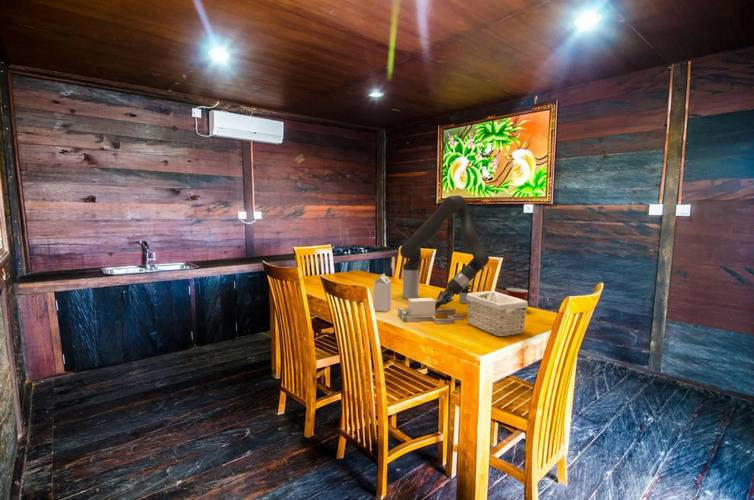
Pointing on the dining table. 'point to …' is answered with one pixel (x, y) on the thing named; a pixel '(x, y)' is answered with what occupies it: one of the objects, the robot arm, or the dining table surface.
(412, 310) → the cream box
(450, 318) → the trap lane
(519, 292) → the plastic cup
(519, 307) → the storage basket
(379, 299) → the milk carton
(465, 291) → the house plant
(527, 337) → the dining table surface
